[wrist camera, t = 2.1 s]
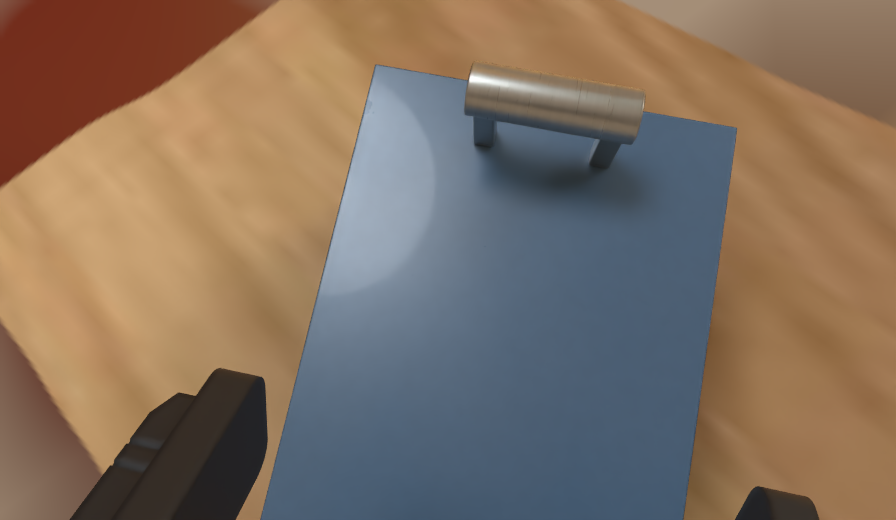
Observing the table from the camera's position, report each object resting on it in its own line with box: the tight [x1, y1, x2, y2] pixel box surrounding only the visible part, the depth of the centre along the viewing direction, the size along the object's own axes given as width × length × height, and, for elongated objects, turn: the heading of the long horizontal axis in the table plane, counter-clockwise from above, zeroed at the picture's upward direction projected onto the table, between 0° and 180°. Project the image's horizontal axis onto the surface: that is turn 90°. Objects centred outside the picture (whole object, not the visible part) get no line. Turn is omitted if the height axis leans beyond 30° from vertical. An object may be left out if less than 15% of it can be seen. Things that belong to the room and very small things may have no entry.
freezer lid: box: [260, 61, 737, 520], centre depth 21 cm, size 17×13×5 cm
